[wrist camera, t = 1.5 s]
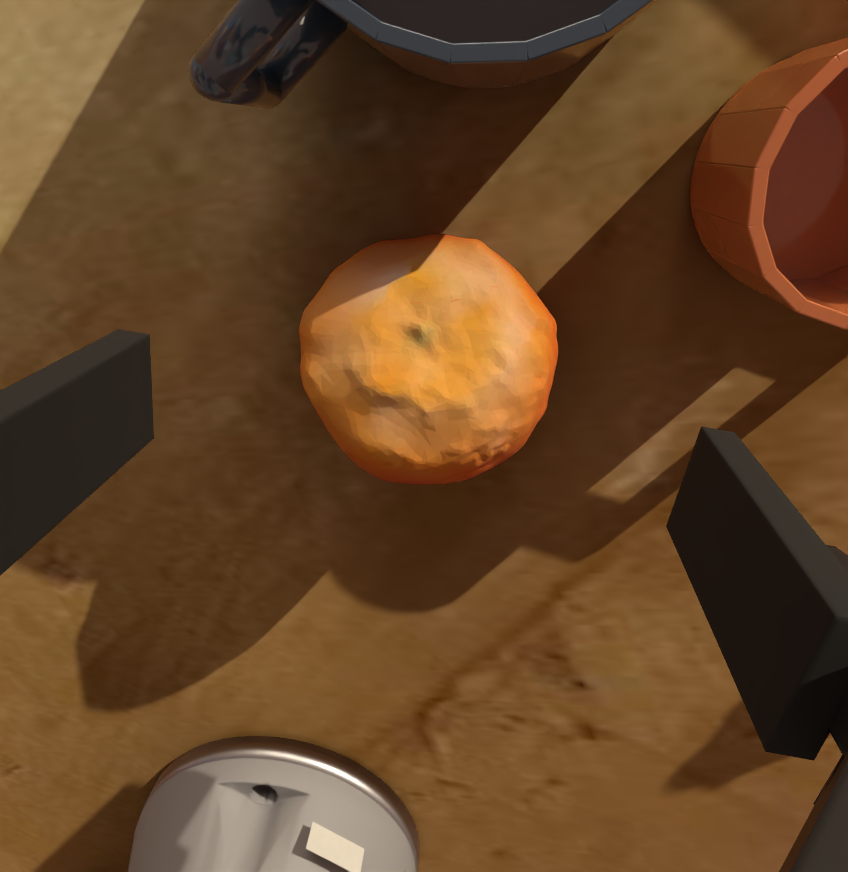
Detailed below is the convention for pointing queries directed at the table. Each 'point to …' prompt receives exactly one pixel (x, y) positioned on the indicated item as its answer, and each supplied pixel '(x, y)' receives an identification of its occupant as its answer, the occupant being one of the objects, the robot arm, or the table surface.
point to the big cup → (401, 41)
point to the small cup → (782, 184)
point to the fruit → (428, 358)
